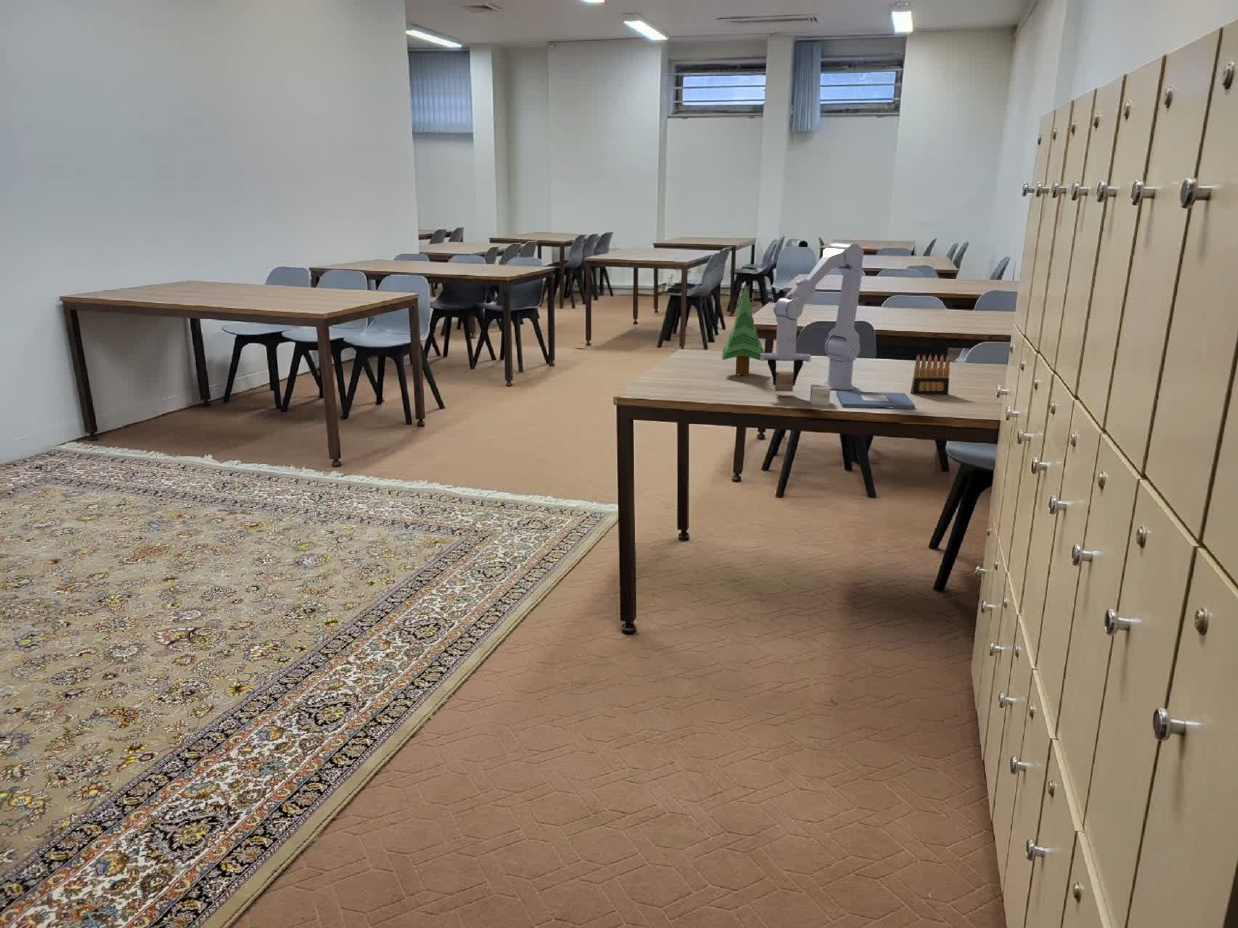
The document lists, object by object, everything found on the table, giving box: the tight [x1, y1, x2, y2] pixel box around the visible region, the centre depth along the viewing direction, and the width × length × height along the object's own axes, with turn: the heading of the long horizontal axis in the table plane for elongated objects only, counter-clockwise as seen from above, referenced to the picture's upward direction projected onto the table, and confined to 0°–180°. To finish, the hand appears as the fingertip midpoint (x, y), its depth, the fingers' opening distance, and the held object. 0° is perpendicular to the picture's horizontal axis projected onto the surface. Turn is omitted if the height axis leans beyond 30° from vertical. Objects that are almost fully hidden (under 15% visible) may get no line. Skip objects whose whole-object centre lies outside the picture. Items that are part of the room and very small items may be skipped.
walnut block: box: [774, 370, 794, 393], centre depth 262 cm, size 5×5×5 cm
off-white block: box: [809, 384, 831, 406], centre depth 254 cm, size 5×5×5 cm
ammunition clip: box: [910, 354, 951, 396], centre depth 264 cm, size 11×2×12 cm, turn 88°
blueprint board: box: [835, 390, 916, 410], centre depth 256 cm, size 16×20×1 cm
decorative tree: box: [721, 284, 765, 375], centre depth 289 cm, size 14×16×30 cm
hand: (783, 384), depth 262 cm, fingers closed on walnut block, 5 cm apart
